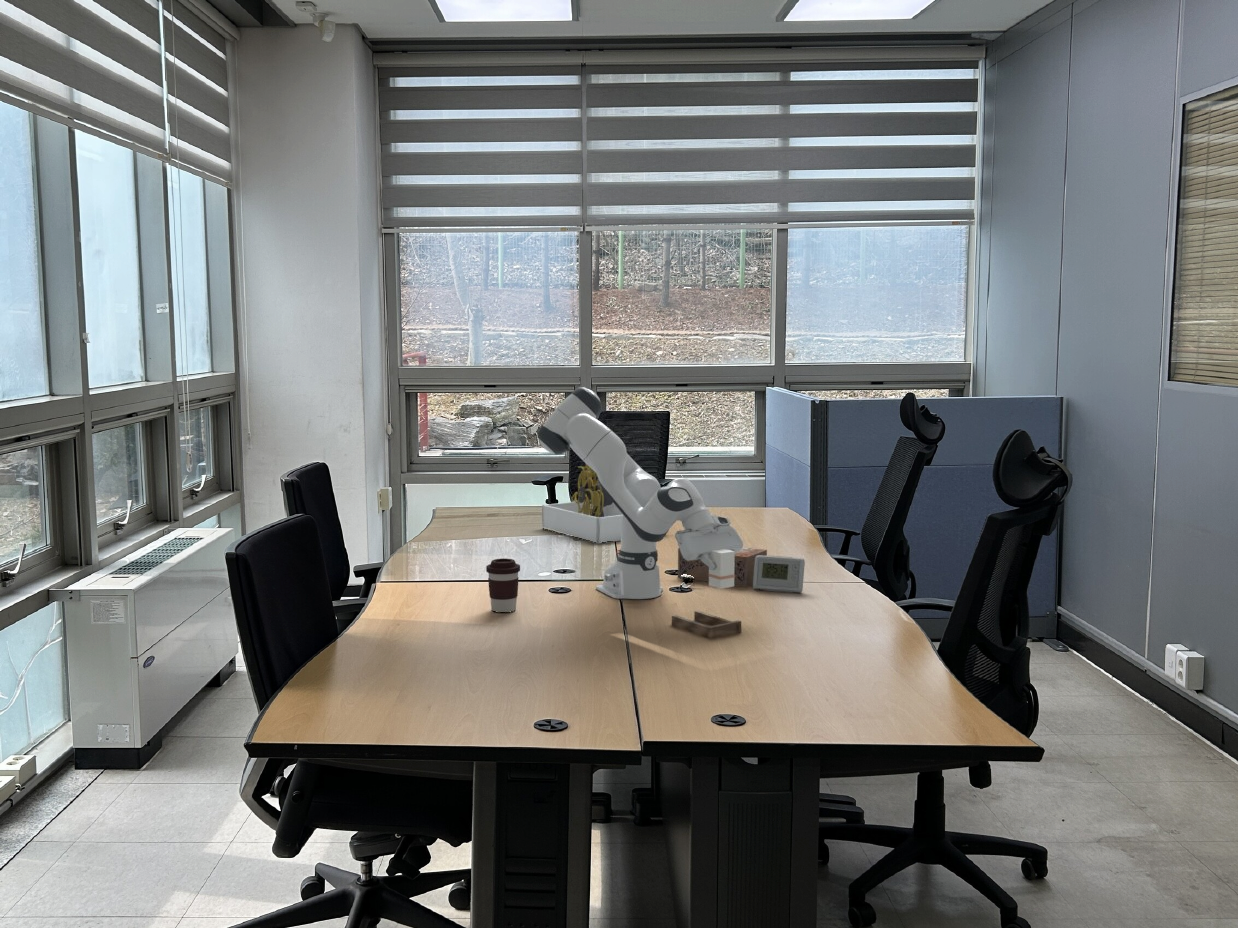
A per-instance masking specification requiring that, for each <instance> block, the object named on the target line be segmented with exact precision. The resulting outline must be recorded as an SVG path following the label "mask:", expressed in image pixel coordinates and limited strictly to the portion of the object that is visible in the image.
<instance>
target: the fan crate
mask: <svg viewBox="0 0 1238 928" xmlns="http://www.w3.org/2000/svg"><path fill="white" fill-rule="evenodd" d="M590 502H591V500H590ZM583 503H584V502H583ZM583 503H580V502H579V505H580V508H581V509H582V506H583ZM585 504H586V502H585ZM593 506H594V505H593ZM541 507H542V508H541V509H542V517H541V518H542V520H541V521H542V522H541V523H542V526H543V527H546V528H550V529H554V530H556V531H559V532H563V533H566V534H569V535H573V536H575V537H579V538H583V539H586V540H590V541H594V542H596V543H595V544H603V543H602V542H606V543H608V542H607V541H613V542H619V541H620V542H621V523H622V519H623V514H622V513H621V511H620V510H619V509H618V508H617V506H616V505H615V504H614V503H612V504H611V505H607V506H605V507H603V513H604V517H599V518H598V517H594V516H590V514H589V515H585V514H583V511H582V512H581V513H578V510H579V507H578V503H575V501H569V502H568V501H567V502H558V503H551V504H542V506H541ZM590 508H591V504H590ZM592 509H593V507H592ZM583 510H584V509H583ZM591 514H592V513H591ZM575 537H574V538H575ZM579 538H578V539H579ZM583 539H582V540H583ZM586 540H585V541H586ZM590 541H589V542H590ZM594 542H593V543H594Z"/></svg>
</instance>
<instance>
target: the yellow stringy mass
mask: <svg viewBox="0 0 1238 928" xmlns="http://www.w3.org/2000/svg"><path fill="white" fill-rule="evenodd" d="M584 463H585V462H584ZM577 468H578V469H582V470H581V472H580V473H579V475H578V479H577V488H578V489H577V491H576V492H574V493H573V494H572V497H571V500H570V502H575V503H578V507H579V510H578V513H581V512H582V511H583V514H585V515H589V514H590V516H594V517H598V518H599V517H604V513H603V507H605V506H607V505H611V504H612V503H613V502H612V500H611V499H610V498H609V497H608V496H607V494H606V493H605V492H604V490H603V489H602V488H601V486H600V484H599V482H598V476H597V474H596V472H595V471H594V470H593V469H591V468H590V467H589V466H588V465H587V464H586V463H585V466H581V465H580V466H577ZM592 478H593V479H592ZM586 485H587V488H586ZM590 500H591V502H590ZM579 502H580V503H583V502H584V503H583V506H582V509H581V508H580V505H579ZM585 502H586V504H585ZM590 504H591V508H590ZM593 505H594V506H593ZM592 507H593V509H592ZM583 509H584V510H583ZM591 513H592V514H591Z"/></svg>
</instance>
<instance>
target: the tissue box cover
mask: <svg viewBox="0 0 1238 928" xmlns="http://www.w3.org/2000/svg"><path fill="white" fill-rule="evenodd" d="M677 555H678V556H677V577H678V576H681V575H683V574H687V575H691V576H693V577H694V579H693V580H696V581H705V582H709V576H708V574H709V567H708V566H707V565H706V564H704V563H703V562H702V561H701V559H697V560H690V561H687V560H685V559H684V558H683V556H682V554H681V551H680V549H679V547H678V548H677ZM757 555H762V556H768V549H764V548H763V549H761V548H757V547H755V548H753V547H748V546H747V547H745V546H743V548H742V549H741V550H740V552H739V553H736V554H735V555H734V563H735V565H734V574H735V577H734V586H737V585H739V587H744V586H745V587H746V588H747V587H749V585H750V586H753V576H754V565H755V557H756V556H757ZM745 587H744V588H745Z"/></svg>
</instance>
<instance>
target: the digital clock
mask: <svg viewBox="0 0 1238 928" xmlns="http://www.w3.org/2000/svg"><path fill="white" fill-rule="evenodd" d="M805 563H806V561H805V558H801V557H792V556H779V555H767V556H762V555H757V556H756V557H755V565H754V576H753V584H752V588H753V589H754V590H759V589H760V590H762V591H765V592H776V591H777V593H778V592H780V593H790V594H791V593H798V594H799V593H802V592H803V588H804V578H805Z"/></svg>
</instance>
